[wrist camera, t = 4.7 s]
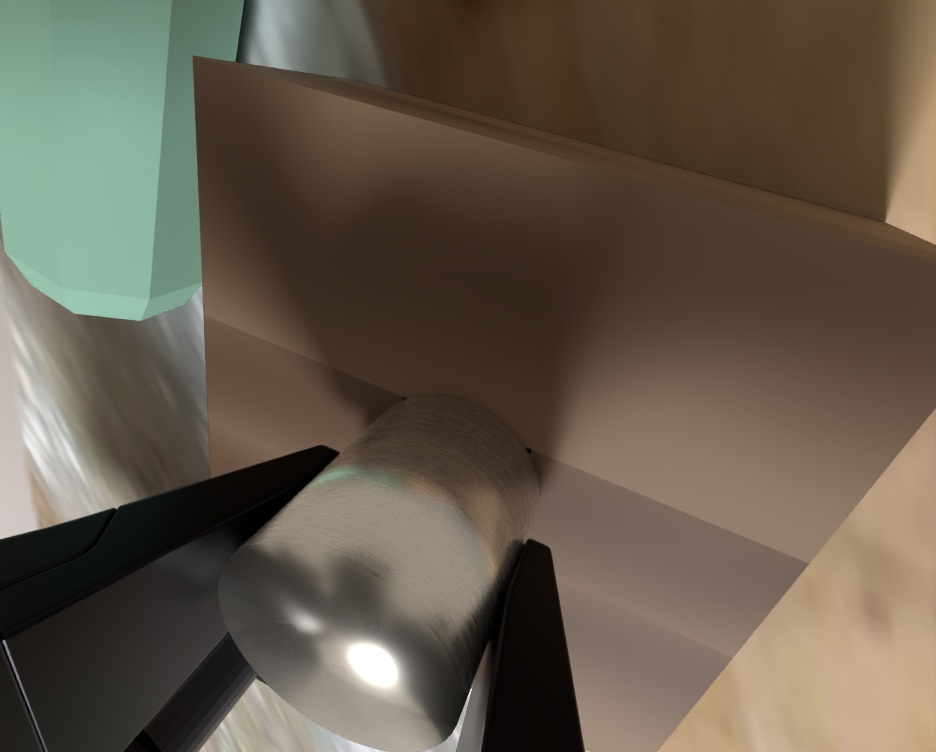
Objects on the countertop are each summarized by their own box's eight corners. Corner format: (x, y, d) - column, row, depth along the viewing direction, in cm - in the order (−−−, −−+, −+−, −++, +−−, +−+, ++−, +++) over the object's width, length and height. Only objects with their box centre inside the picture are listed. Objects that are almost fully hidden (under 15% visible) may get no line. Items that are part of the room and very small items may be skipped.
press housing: (649, 606, 16) (637, 776, 12) (320, 456, 19) (213, 551, 14) (886, 222, 10) (1032, 288, 6) (356, 80, 13) (192, 54, 8)
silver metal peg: (557, 459, 14) (430, 790, 7) (441, 412, 15) (220, 667, 8) (601, 346, 13) (491, 636, 5) (467, 299, 13) (214, 496, 6)
